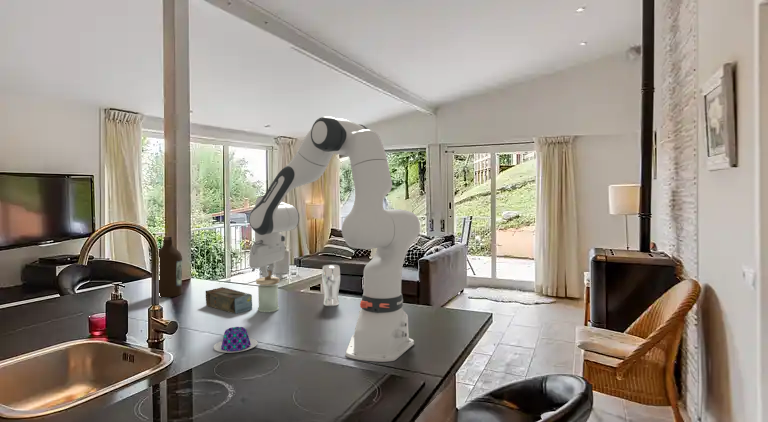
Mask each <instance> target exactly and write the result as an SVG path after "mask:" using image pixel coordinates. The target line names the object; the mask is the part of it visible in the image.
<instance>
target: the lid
mask: <svg viewBox="0 0 768 422" xmlns="http://www.w3.org/2000/svg"><path fill="white" fill-rule="evenodd" d="M267 272H269V274H268V275H269V276H268V277H259V278H256V280H255V283H256V285H258V286H259V285H272V284H277V285H278V284H280V279H281V278H279V277H276V276H272V275H271V271H268V270H267Z"/></svg>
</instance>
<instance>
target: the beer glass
mask: <svg viewBox="0 0 768 422" xmlns="http://www.w3.org/2000/svg"><path fill="white" fill-rule="evenodd" d="M321 276H322V277H321V279H322V280H321V281H322V286H323V287H322V288H323V292H324V299H323V306H325V307H336V306H339V305H340V300H339V290H340V284H341V269H340V265H338V264H325V265H322V271H321Z"/></svg>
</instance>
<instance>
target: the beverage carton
mask: <svg viewBox="0 0 768 422" xmlns="http://www.w3.org/2000/svg"><path fill="white" fill-rule="evenodd" d="M205 304H206V307H210V308H214V309H217V310H219V311H220V310H221V311H225V312H228V313H232V314H240V313H242V312H244V313H245V312H246V311H251V310H252V309H253V295H252V294H250V293H246V292H243V291H239V290H235V289H233V288H232V289H231V288H227V287H219V288H218V287H217V288H213V289H208V290H205Z"/></svg>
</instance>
